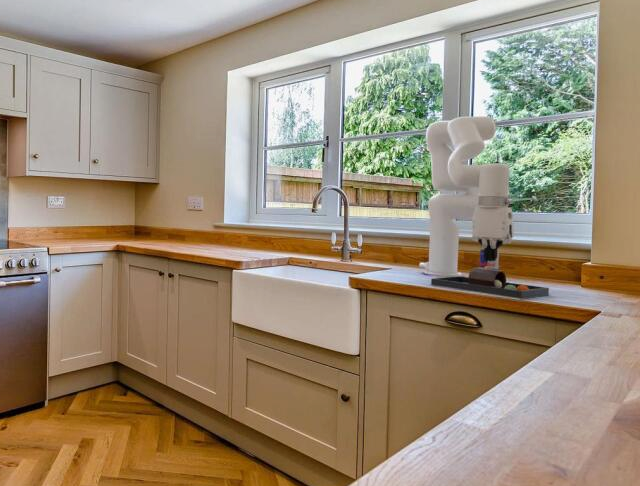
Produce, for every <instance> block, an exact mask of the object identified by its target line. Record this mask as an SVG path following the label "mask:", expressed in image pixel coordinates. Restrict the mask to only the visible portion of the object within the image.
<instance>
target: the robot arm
mask: <svg viewBox="0 0 640 486" xmlns="http://www.w3.org/2000/svg"><path fill="white" fill-rule="evenodd" d="M496 131H497V125H496V122H495V121H494V119H493V118H491V117H490V116H459V117H455V118H453V119H452V120H438V121H435V122H432V123H430V124H429V125H428V126H427V128H426V133H425V142H426V147H427V149H428V152H429V155H430V161H431V162H430V165H431V184H432V187H433V189H434V190H435V191H440V192H462V193H463V194H462V193H461V194H460V193H439V194H434V195H433V196H431V197H430V198H429V199H428V203H427V207H428V214H429V247H428V261H426V262H422V261H421V262H419V264H418V266H419V268H425V269H424V270H423V274H425V275H430V276H440V277H456V276H462V277H463V273H461V272H458V266H459V265H458V264H459V239H460V230H459V228H458V226H457V225H456V223H455V222H454V221H453V220H472V221H471V222H472V224H471V235H472V237H471V240H472V241H474V242H477V243H479V244H480V245H481V246H482V249H484V258H485V261H496V259H497V250H498V251H499V249H500V247H502V246H503V245H507V244H512V243H513V241H512V239H513V238H514V234H515V227H514V226H515V225H514V214H513V210H512V207H509V206H510V205H511V204H514V199H511V198H510V197H509V190H510V166H509V164H506V163H500V162H499V163H498V162H497V163H484V164H463V162H466V161H469V160H471V159H474V158H476V157H478V156H479V155H481V154H482V153H483V152H484V150H485V147H486V144H485V142H486V141H489V140H491V139H493V138H494V136H495V134H496V133H497V132H496ZM449 143H450V144H452V146H453V148H454V150H453V148H452V147H451V146H450V145H449Z"/></svg>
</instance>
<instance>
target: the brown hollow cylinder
mask: <svg viewBox="0 0 640 486" xmlns="http://www.w3.org/2000/svg"><path fill="white" fill-rule="evenodd" d="M468 277H469V284H475V285H482V286H489V287H495V282H494V281H495V280H499V281H500V282H501V283H502V287H501V288H503V289H504V288H505V285H506V282H507V276H506V273H505V272H504V271H503V270H500V269H498V270H493V269H484V268H479V267H473V268H471V269H470V271H469V273H468Z"/></svg>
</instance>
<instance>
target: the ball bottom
mask: <svg viewBox="0 0 640 486" xmlns="http://www.w3.org/2000/svg"><path fill="white" fill-rule="evenodd" d="M494 282H495V287H496V288H501V287H502V283H501V282H500V281H499V280H495V281H494Z"/></svg>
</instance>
